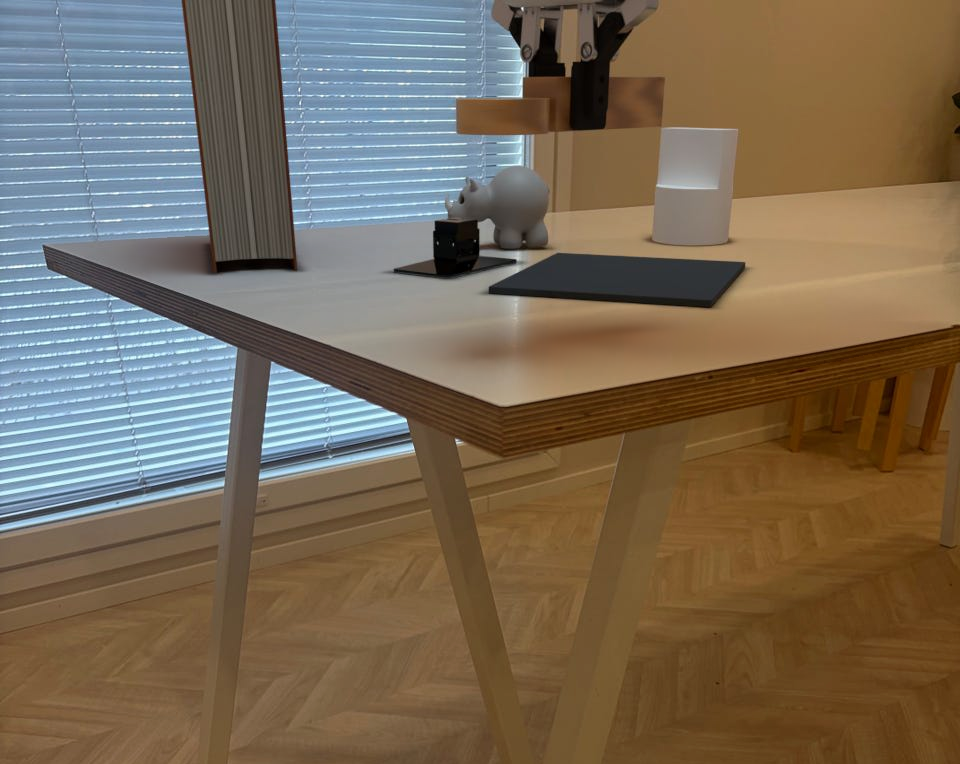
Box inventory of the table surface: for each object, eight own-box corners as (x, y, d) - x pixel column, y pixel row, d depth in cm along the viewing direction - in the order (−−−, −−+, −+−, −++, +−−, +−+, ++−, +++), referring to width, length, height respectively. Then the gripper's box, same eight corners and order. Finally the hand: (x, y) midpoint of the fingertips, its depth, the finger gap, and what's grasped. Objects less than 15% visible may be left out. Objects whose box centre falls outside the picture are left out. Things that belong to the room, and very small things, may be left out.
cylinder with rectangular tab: (742, 239, 123) (754, 128, 118) (700, 247, 118) (711, 131, 112) (679, 233, 129) (688, 126, 123) (636, 240, 123) (644, 128, 117)
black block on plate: (463, 258, 112) (463, 212, 110) (519, 264, 109) (520, 216, 106) (392, 272, 103) (391, 222, 101) (451, 279, 100) (451, 227, 97)
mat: (745, 268, 105) (745, 261, 105) (711, 307, 87) (711, 300, 86) (556, 258, 111) (557, 252, 111) (488, 293, 93) (488, 286, 92)
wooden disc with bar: (612, 125, 78) (615, 77, 76) (678, 127, 74) (682, 76, 73) (437, 133, 66) (435, 77, 65) (505, 136, 63) (505, 76, 61)
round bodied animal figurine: (440, 244, 121) (439, 164, 117) (540, 241, 123) (542, 163, 118) (450, 253, 114) (448, 169, 110) (554, 249, 116) (557, 167, 112)
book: (297, 270, 104) (267, -89, 90) (215, 273, 103) (171, -93, 88) (279, 240, 124) (253, -59, 109) (210, 243, 122) (174, -61, 108)
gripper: (729, -227, 59) (698, 130, 68) (517, -181, 69) (514, 124, 78) (653, -253, 54) (630, 134, 63) (437, -200, 64) (443, 128, 73)
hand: (566, 126), depth 70 cm, fingers closed on wooden disc with bar, 3 cm apart
